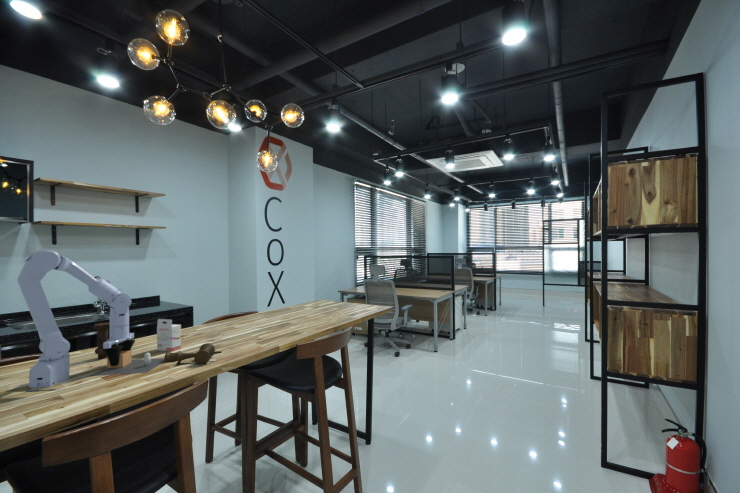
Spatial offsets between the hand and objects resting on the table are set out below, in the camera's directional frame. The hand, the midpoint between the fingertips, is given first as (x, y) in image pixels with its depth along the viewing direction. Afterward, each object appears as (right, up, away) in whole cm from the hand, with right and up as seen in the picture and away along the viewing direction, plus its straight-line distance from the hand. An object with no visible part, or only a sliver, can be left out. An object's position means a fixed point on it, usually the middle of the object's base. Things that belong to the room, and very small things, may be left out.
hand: (119, 362), depth 120 cm
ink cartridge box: (+6, -3, +20) cm, 21 cm away
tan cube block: (0, -1, 0) cm, 1 cm away
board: (+6, -2, -1) cm, 6 cm away
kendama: (+24, -3, +7) cm, 25 cm away
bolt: (-14, -3, +9) cm, 17 cm away
